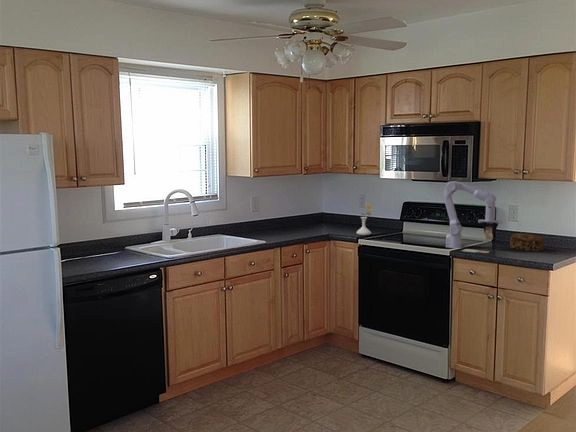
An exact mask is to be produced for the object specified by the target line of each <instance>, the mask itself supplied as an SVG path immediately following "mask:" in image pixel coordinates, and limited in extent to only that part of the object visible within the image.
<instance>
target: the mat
mask: <svg viewBox="0 0 576 432" xmlns="http://www.w3.org/2000/svg"><path fill="white" fill-rule="evenodd" d="M478 251H481V250H480V249H472V248H471V249H469V248H465V249H463V250H461V252H467V253H468V252H469V253H479V252H478Z"/></svg>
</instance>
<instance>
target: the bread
mask: <svg viewBox="0 0 576 432" xmlns="http://www.w3.org/2000/svg"><path fill="white" fill-rule="evenodd" d="M509 247H510V249H514V250H515V249H516V250H521V251H522V250H523V251H527V250H528V252H529V251H530V252H531V251H532V252H540V251H544V248H545V239H544V238H543V237H542V236H538V235H534V234H530V233H518V232H516V233H512V234H511V235H510V238H509Z"/></svg>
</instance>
